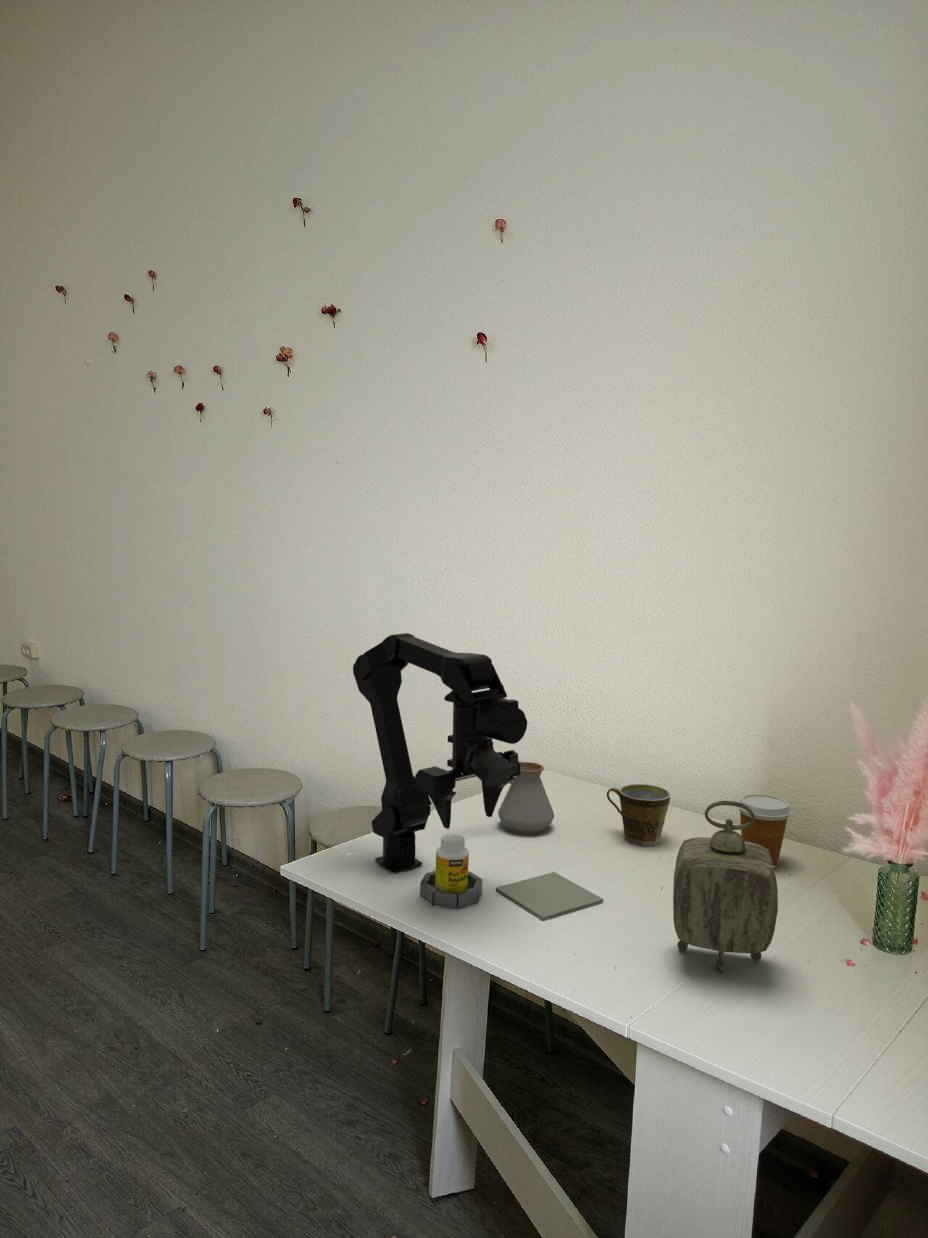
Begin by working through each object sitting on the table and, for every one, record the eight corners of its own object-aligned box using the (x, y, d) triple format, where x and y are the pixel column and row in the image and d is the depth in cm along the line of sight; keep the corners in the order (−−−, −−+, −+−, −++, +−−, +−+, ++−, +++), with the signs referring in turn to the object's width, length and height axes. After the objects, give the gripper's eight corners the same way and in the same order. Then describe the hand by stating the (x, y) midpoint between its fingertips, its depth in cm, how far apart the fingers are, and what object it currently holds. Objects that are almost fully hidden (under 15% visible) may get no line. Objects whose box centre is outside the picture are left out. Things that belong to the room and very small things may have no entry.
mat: (495, 891, 162) (495, 887, 162) (553, 875, 169) (554, 872, 169) (543, 920, 151) (543, 917, 151) (603, 902, 158) (603, 899, 158)
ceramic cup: (674, 838, 189) (677, 790, 187) (656, 854, 180) (659, 803, 179) (614, 824, 195) (617, 778, 194) (594, 838, 187) (597, 790, 186)
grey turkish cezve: (537, 815, 200) (540, 746, 198) (563, 834, 189) (567, 761, 187) (444, 826, 192) (446, 755, 189) (466, 847, 181) (468, 771, 179)
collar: (410, 890, 161) (411, 877, 161) (459, 878, 166) (459, 865, 166) (442, 913, 153) (442, 899, 152) (492, 899, 158) (492, 885, 158)
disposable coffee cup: (731, 867, 175) (735, 805, 173) (736, 849, 184) (741, 790, 182) (784, 876, 171) (789, 813, 170) (788, 858, 180) (793, 797, 178)
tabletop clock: (767, 957, 141) (780, 797, 138) (773, 987, 133) (786, 818, 129) (669, 944, 145) (679, 787, 141) (668, 973, 136) (678, 807, 132)
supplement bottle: (446, 905, 156) (447, 846, 154) (428, 892, 160) (430, 835, 159) (473, 898, 159) (475, 840, 157) (456, 886, 163) (457, 829, 162)
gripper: (457, 751, 143) (455, 849, 145) (544, 733, 155) (541, 824, 157) (413, 735, 151) (412, 829, 154) (499, 719, 163) (497, 806, 165)
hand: (468, 822), depth 157 cm, fingers open, 9 cm apart
